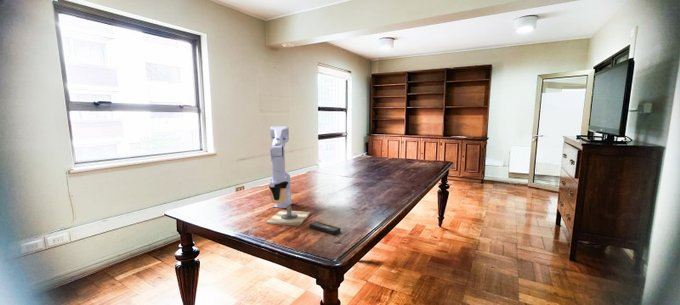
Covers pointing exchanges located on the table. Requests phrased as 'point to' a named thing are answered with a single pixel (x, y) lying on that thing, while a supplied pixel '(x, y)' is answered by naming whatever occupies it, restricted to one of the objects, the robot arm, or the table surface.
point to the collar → (282, 196)
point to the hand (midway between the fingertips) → (279, 198)
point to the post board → (288, 217)
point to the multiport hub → (324, 228)
